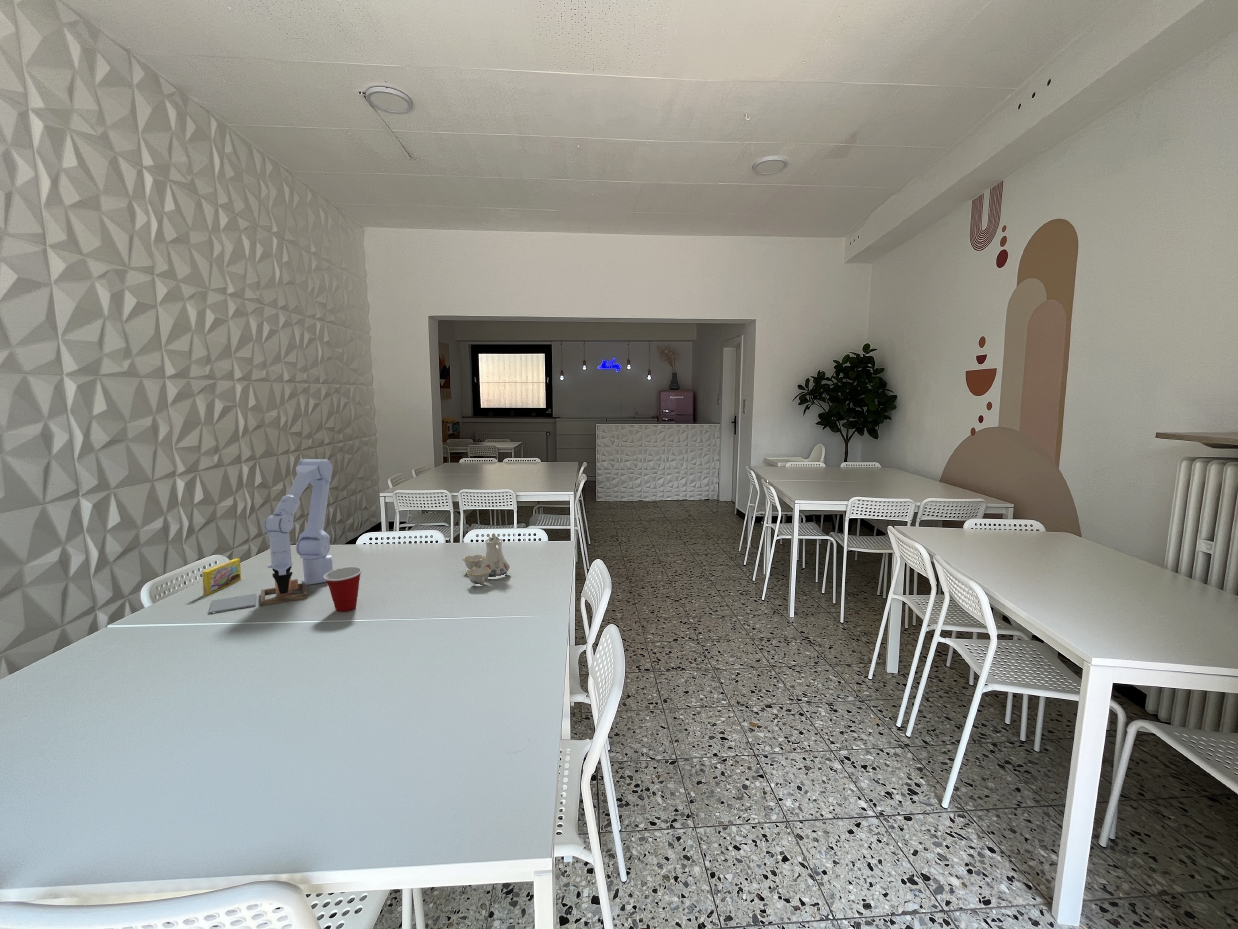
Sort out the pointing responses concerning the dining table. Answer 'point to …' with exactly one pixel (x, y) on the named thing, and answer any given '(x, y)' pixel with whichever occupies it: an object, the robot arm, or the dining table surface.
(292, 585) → the peach rounded block
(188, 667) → the dining table surface
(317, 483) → the robot arm
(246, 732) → the dining table surface
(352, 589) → the plastic cup
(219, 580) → the candy box
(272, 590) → the frame
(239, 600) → the grey mat
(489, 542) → the chinaware
